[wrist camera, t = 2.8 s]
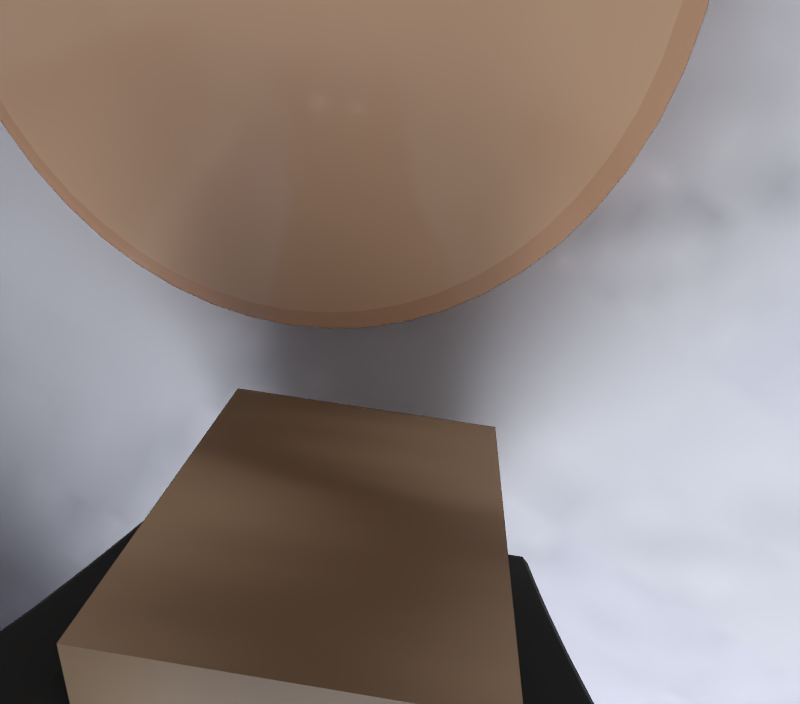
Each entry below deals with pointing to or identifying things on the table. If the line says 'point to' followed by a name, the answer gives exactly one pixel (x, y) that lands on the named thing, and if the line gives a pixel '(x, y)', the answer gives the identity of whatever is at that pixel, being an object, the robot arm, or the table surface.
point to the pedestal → (337, 137)
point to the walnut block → (310, 569)
